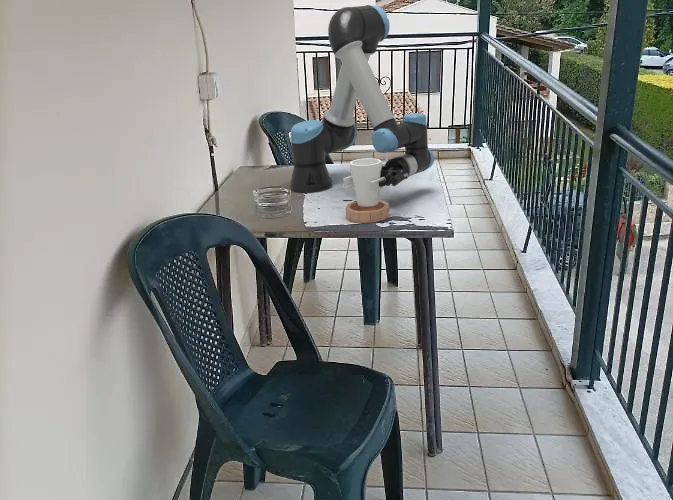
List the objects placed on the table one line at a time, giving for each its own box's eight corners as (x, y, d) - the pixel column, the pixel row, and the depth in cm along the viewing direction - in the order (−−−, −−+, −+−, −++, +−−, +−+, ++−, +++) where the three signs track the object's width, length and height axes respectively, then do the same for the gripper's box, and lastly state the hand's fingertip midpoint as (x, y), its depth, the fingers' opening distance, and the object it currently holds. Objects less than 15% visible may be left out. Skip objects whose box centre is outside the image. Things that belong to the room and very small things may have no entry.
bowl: (338, 219, 197) (337, 208, 195) (364, 207, 206) (363, 197, 204) (371, 225, 189) (371, 214, 187) (397, 213, 198) (396, 203, 196)
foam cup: (361, 210, 190) (359, 167, 185) (347, 203, 197) (344, 162, 193) (389, 203, 194) (387, 161, 189) (373, 197, 201) (371, 156, 197)
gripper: (429, 183, 200) (388, 201, 184) (373, 175, 214) (330, 192, 198) (429, 159, 197) (386, 176, 182) (372, 153, 211) (328, 169, 195)
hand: (357, 184), depth 190 cm, fingers closed on foam cup, 9 cm apart
